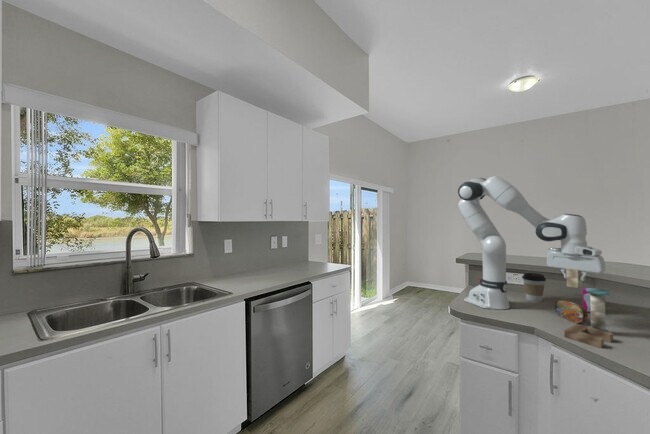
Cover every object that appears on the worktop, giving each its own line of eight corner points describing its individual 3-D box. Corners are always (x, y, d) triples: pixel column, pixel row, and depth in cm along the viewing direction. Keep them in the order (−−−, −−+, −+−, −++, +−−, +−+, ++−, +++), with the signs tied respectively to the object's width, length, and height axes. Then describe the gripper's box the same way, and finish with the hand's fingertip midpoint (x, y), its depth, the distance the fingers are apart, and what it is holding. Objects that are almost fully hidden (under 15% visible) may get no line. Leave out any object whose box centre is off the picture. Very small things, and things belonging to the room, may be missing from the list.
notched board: (564, 336, 113) (564, 329, 113) (577, 330, 119) (577, 323, 119) (600, 348, 104) (600, 340, 104) (613, 340, 109) (613, 333, 109)
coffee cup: (523, 296, 169) (523, 271, 169) (547, 299, 162) (547, 274, 161) (520, 300, 161) (520, 274, 161) (545, 304, 153) (544, 277, 153)
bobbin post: (583, 331, 118) (583, 289, 118) (590, 327, 122) (590, 287, 122) (605, 337, 112) (605, 293, 112) (612, 333, 116) (612, 290, 115)
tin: (554, 314, 139) (554, 297, 139) (560, 314, 139) (560, 297, 139) (582, 326, 124) (582, 307, 124) (589, 326, 124) (589, 307, 124)
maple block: (566, 286, 127) (566, 268, 127) (570, 285, 129) (570, 267, 128) (577, 288, 123) (577, 270, 123) (581, 286, 125) (581, 269, 125)
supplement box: (598, 311, 142) (597, 289, 142) (598, 314, 138) (598, 291, 138) (582, 308, 146) (582, 287, 146) (582, 311, 142) (582, 289, 141)
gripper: (543, 247, 134) (544, 276, 134) (600, 252, 115) (601, 285, 115) (550, 246, 136) (550, 274, 136) (606, 251, 118) (607, 283, 118)
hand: (574, 279), depth 126 cm, fingers closed on maple block, 4 cm apart
